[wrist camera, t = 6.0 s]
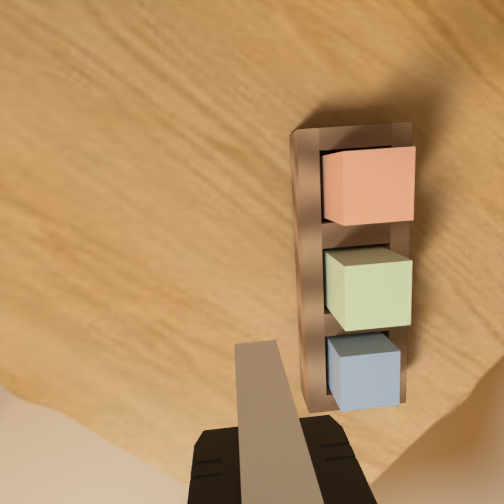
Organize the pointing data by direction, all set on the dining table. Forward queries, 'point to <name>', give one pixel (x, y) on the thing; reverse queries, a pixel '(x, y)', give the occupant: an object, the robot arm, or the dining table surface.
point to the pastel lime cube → (367, 287)
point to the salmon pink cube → (368, 186)
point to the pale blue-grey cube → (363, 370)
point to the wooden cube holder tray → (333, 236)
